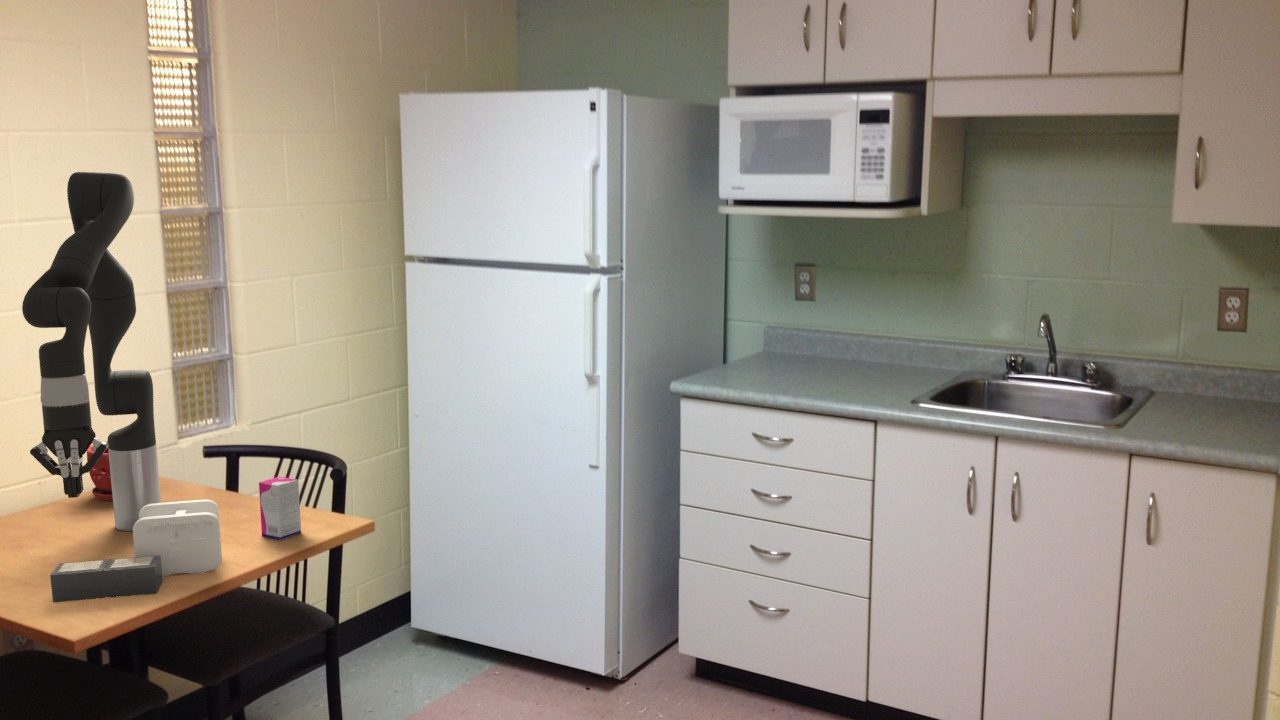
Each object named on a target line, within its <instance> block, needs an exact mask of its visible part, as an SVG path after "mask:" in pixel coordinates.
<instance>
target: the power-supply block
mask: <svg viewBox="0 0 1280 720" xmlns="http://www.w3.org/2000/svg"><path fill="white" fill-rule="evenodd" d="M49 576H50V585H51V586H50V587H51V595H52V603H61V602H63V603H64V602H74V601H75V602H76V601H84V600H85V601H86V599H87V600H97V599H96V598H99V599H106V598H105V597H111V598H120V597H119V596H121V598H122V596H123V597H132V595H134V596H143V595H157V594H158V592H159V590H160V588H161V586H162V584H163V583H164V581H163V580H164V579H163V577H162V567H161V556H150V557H137V558H135V557H127V558H126V557H125V558H114V559H113V558H112V559H103V560H102V559H101V560H99V559H98V560H87V561H79V562H78V561H75V562H62V563H58V564H57V566H56V567H55V568H54V570H53V571H52V572H51V574H50V575H49ZM116 596H118V597H116Z"/></svg>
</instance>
